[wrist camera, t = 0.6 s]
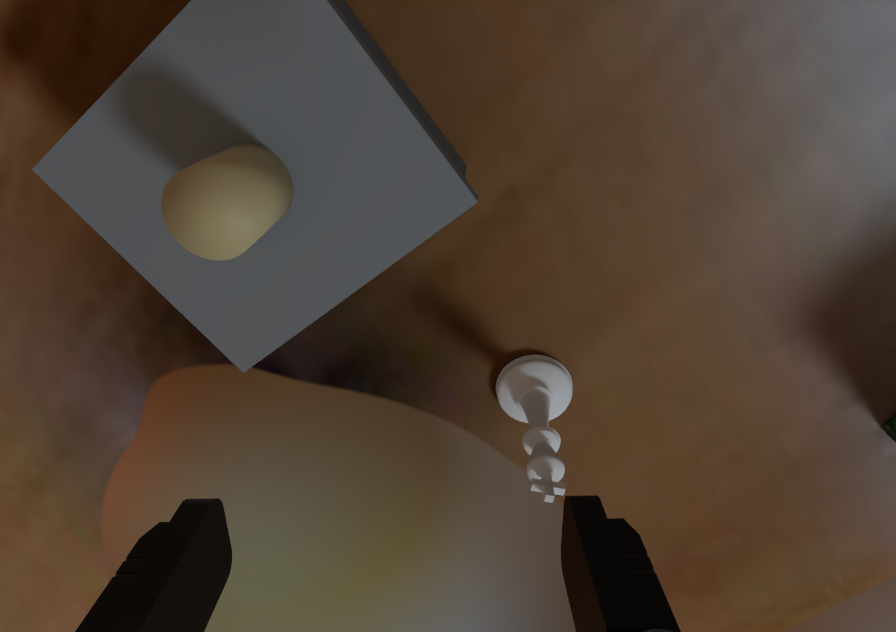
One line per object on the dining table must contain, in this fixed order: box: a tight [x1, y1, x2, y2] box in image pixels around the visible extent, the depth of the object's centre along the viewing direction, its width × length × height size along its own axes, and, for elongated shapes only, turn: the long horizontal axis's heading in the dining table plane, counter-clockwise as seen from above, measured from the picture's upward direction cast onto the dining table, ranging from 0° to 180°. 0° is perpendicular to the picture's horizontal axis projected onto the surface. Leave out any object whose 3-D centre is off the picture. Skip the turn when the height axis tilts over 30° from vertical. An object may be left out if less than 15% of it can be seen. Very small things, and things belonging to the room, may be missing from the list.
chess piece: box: [496, 355, 572, 503], centre depth 33 cm, size 5×5×10 cm
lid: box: [32, 0, 478, 373], centre depth 24 cm, size 15×13×6 cm
